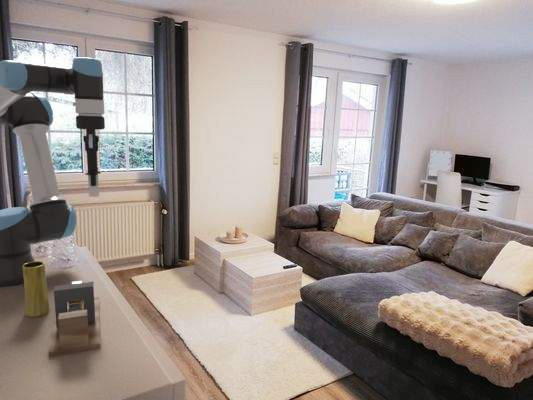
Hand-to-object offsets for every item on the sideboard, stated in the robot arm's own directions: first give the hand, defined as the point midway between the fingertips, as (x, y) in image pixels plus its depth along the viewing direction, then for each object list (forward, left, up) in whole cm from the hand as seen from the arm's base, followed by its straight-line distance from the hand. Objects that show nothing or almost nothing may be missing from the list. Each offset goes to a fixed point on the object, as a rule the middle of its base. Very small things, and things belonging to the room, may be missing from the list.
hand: (94, 196), depth 118 cm
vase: (+6, -16, -32) cm, 36 cm away
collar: (+20, -6, -30) cm, 36 cm away
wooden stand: (+17, -6, -31) cm, 36 cm away
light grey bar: (+17, -6, -26) cm, 32 cm away
